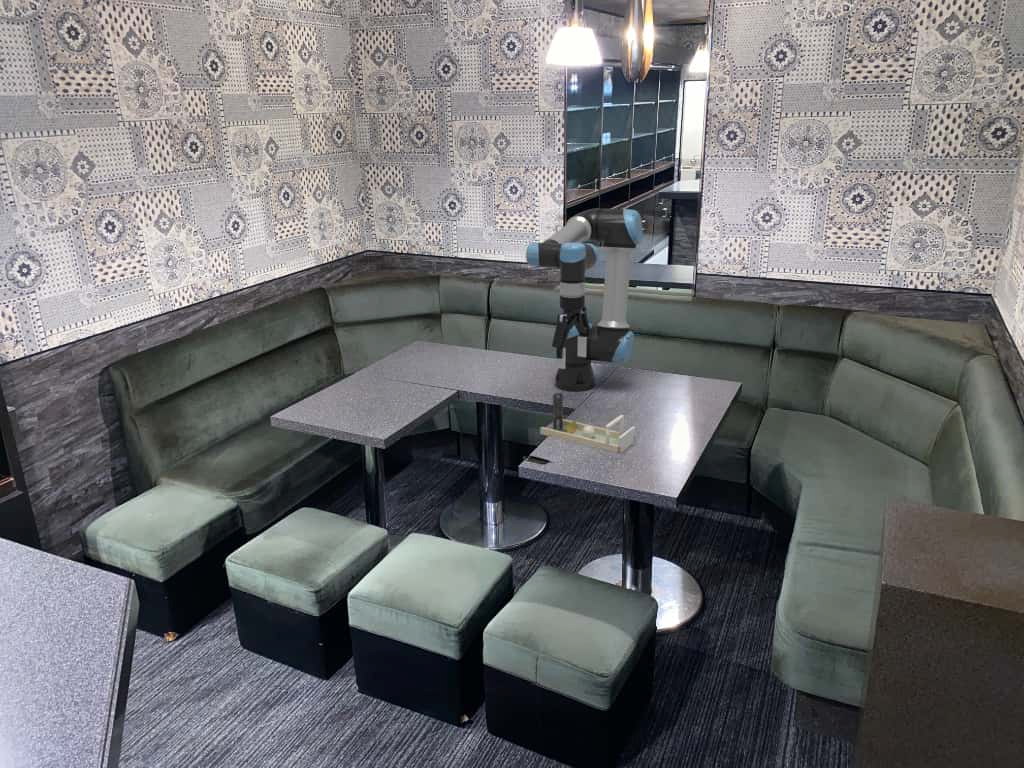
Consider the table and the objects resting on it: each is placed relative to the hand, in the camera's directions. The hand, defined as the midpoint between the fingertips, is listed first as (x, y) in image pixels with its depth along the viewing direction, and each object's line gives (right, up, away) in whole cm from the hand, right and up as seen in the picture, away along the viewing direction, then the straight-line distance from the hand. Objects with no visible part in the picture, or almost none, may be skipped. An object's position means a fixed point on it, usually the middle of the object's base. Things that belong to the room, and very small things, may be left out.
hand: (571, 362), depth 243 cm
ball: (+5, -24, 0) cm, 24 cm away
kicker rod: (-3, -22, +5) cm, 22 cm away
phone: (-8, -28, -6) cm, 30 cm away
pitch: (+5, -25, +1) cm, 25 cm away
